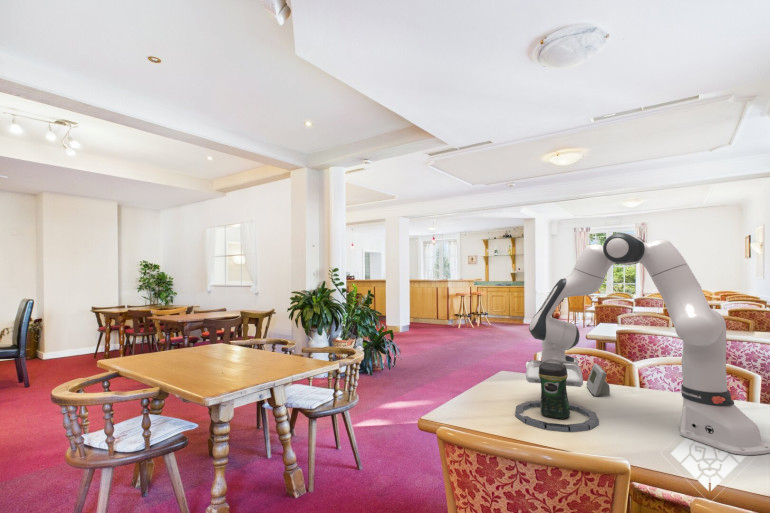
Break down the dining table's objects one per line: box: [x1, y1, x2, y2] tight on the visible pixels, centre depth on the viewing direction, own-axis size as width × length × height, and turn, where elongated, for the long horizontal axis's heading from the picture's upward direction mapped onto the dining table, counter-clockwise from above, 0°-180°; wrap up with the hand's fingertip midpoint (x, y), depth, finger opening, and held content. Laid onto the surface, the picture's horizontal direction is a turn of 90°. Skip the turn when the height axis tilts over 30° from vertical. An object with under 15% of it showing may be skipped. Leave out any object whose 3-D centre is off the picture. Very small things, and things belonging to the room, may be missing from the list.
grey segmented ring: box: [514, 399, 600, 433], centre depth 143 cm, size 27×27×2 cm
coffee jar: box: [538, 362, 571, 420], centre depth 145 cm, size 10×8×19 cm
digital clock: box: [586, 363, 611, 397], centre depth 171 cm, size 16×9×11 cm, turn 151°
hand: (554, 393), depth 149 cm, fingers closed
